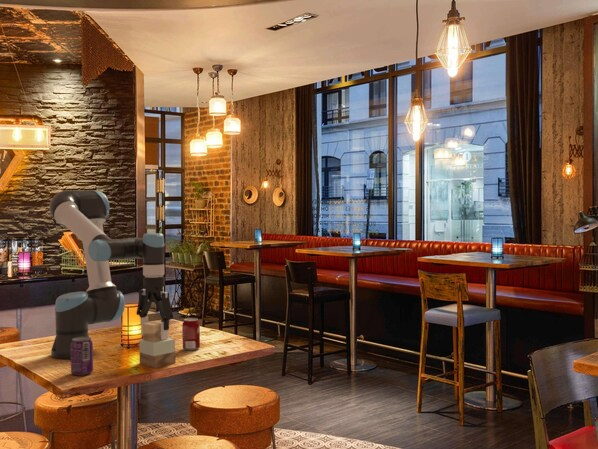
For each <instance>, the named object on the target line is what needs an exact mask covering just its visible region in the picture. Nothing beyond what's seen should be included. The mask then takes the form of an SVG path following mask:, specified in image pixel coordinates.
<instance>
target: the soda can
mask: <svg viewBox="0 0 598 449" xmlns="http://www.w3.org/2000/svg"><path fill="white" fill-rule="evenodd" d="M181 326H182V327H181V328H182V329H181V330H182V338H181V339H182V350H185V351H188V352H191V351H193V352H194V351H198V349H200V348H201V337H200V336H201V335H200V334H201V330H200V328H201V325H200V322H199V319H198V318H197V317H187V318H184V319H183V322H182V325H181Z"/></svg>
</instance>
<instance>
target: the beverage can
mask: <svg viewBox="0 0 598 449" xmlns="http://www.w3.org/2000/svg"><path fill="white" fill-rule="evenodd" d="M93 344H94V343H93V341H92V337H90V336H89V337H76V338H73V339H72V343H71V359H70V373H71V374H73V375H75V376H86V374H87V375H89V374H91V373H92V372H93V371H94V345H93Z"/></svg>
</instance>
